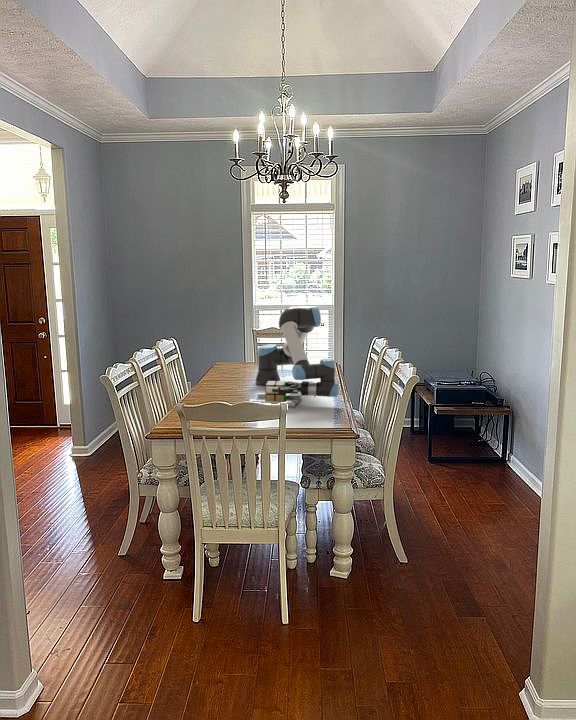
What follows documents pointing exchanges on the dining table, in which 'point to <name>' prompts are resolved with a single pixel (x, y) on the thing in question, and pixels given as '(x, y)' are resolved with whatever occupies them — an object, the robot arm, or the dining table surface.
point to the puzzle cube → (275, 395)
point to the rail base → (290, 399)
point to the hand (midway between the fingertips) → (269, 386)
